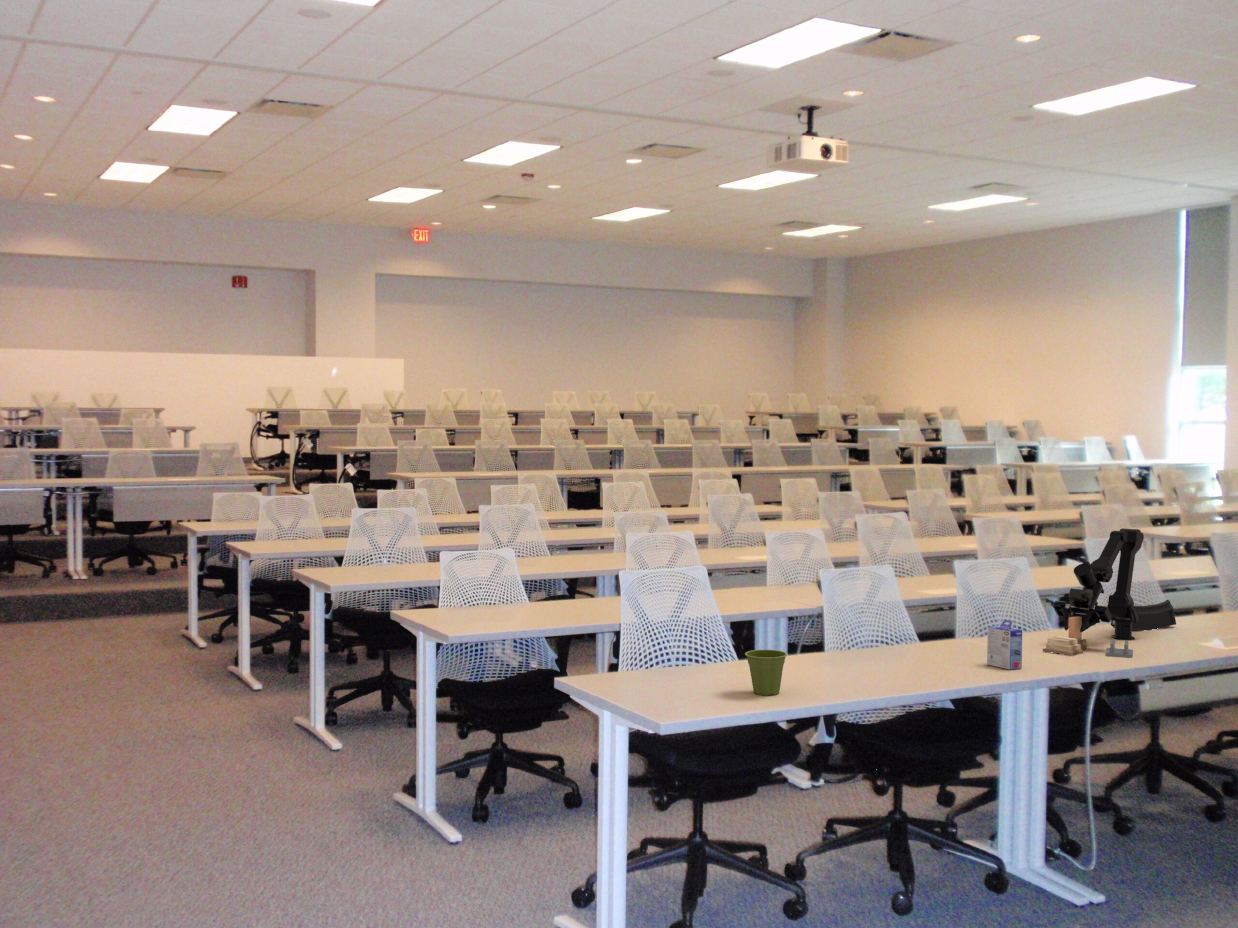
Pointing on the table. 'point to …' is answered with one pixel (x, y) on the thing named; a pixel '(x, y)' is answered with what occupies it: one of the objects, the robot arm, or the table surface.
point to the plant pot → (766, 670)
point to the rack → (1066, 645)
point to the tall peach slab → (1075, 627)
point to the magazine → (1153, 617)
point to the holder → (1119, 650)
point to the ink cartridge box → (1004, 646)
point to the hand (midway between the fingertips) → (1073, 630)
